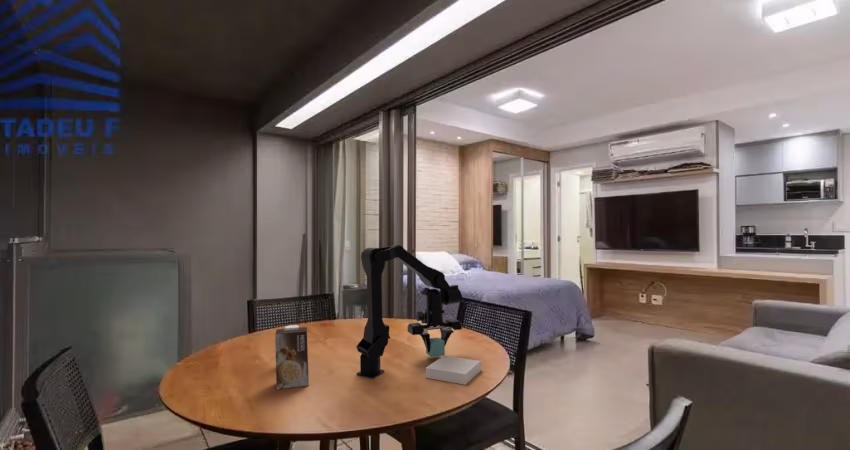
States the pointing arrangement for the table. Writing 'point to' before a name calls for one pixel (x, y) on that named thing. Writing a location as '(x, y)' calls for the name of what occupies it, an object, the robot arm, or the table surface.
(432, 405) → the table surface
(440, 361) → the grey base
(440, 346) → the teal block
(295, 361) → the coffee box
